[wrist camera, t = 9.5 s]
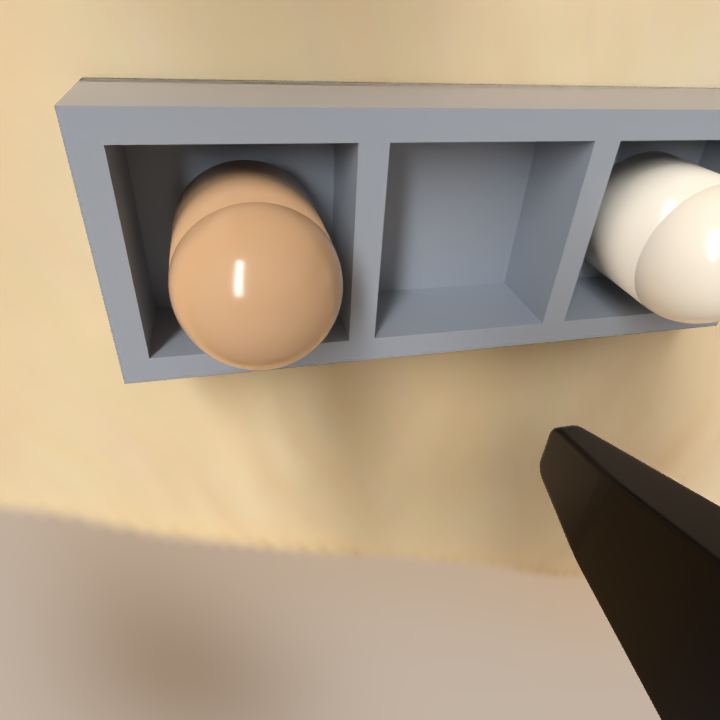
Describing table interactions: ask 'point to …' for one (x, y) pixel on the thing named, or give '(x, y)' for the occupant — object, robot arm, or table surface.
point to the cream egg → (661, 236)
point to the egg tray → (381, 202)
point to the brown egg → (252, 267)
